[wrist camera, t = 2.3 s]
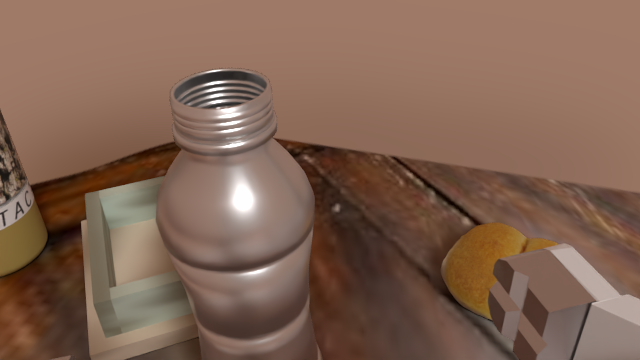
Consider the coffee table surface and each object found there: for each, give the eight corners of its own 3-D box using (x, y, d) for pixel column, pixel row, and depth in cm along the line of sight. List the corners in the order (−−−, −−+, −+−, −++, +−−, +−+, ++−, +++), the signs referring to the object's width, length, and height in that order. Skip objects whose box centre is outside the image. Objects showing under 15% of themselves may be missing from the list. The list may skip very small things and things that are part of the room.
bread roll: (559, 360, 35) (573, 314, 33) (425, 299, 40) (429, 255, 37) (597, 279, 41) (611, 235, 38) (475, 233, 45) (481, 191, 43)
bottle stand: (255, 191, 50) (249, 149, 48) (310, 302, 39) (307, 256, 37) (85, 232, 47) (70, 189, 44) (94, 368, 36) (75, 321, 33)
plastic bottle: (336, 462, 30) (323, 122, 19) (204, 478, 30) (109, 140, 18) (323, 360, 36) (306, 47, 24) (211, 372, 35) (140, 59, 24)
